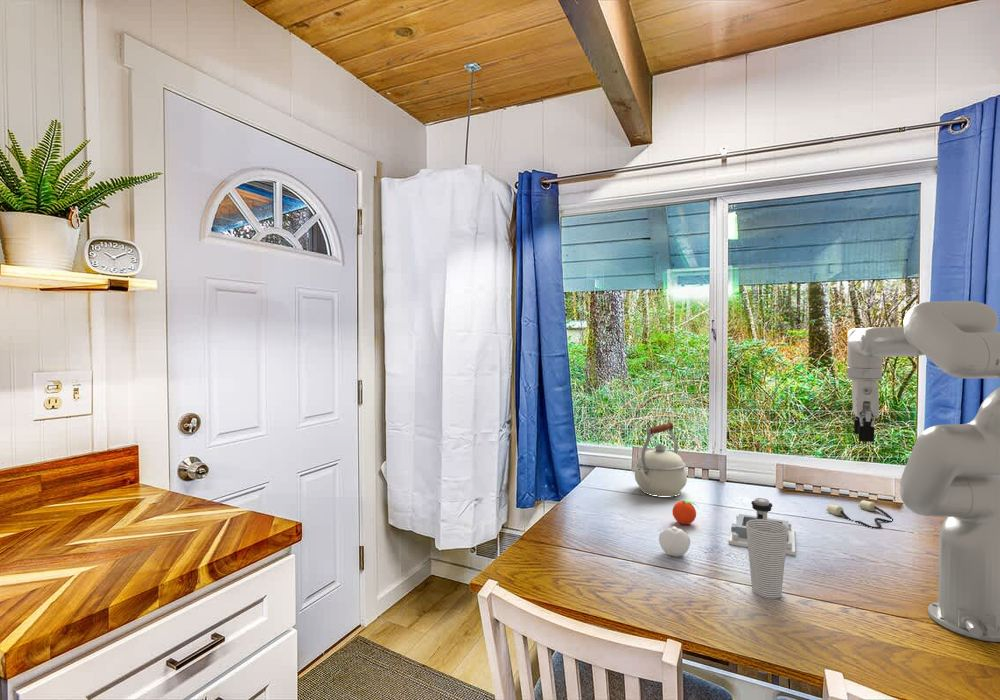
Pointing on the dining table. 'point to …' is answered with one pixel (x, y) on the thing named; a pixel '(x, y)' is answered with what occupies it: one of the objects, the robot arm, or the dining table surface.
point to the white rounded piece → (674, 541)
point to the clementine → (684, 512)
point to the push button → (761, 507)
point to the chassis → (740, 532)
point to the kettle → (660, 467)
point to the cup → (766, 556)
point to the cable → (863, 505)
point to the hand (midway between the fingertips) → (863, 437)
